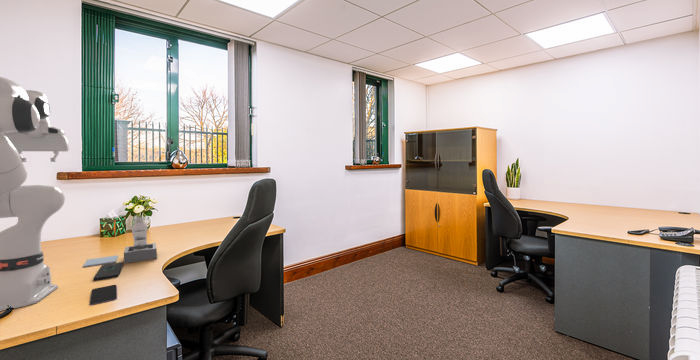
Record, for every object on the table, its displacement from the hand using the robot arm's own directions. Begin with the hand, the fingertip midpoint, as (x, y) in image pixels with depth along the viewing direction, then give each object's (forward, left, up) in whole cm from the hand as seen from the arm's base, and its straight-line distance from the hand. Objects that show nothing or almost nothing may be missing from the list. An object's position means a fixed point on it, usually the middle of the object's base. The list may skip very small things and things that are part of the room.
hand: (38, 161), depth 135 cm
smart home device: (-20, -24, -49) cm, 58 cm away
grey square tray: (-3, -35, -48) cm, 59 cm away
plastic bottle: (-3, -35, -48) cm, 60 cm away
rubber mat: (+1, -19, -48) cm, 52 cm away
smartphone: (-50, -25, -49) cm, 74 cm away
